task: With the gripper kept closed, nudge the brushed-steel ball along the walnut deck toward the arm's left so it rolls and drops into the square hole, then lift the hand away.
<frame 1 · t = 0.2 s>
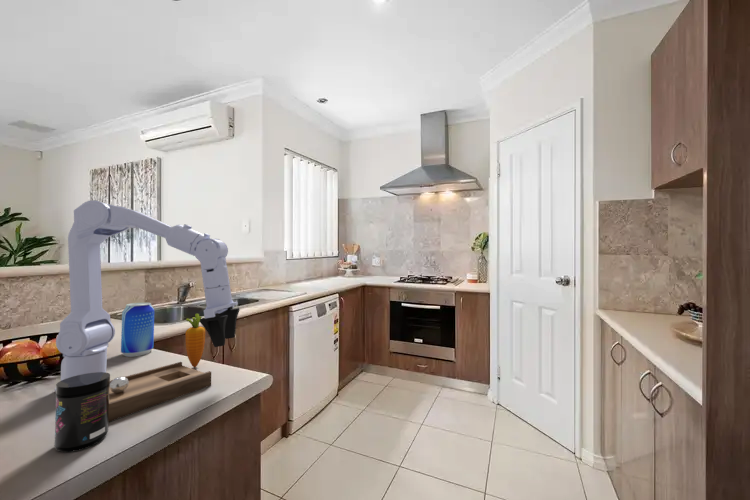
hand: (225, 341, 77), 11 cm above the counter, tool pointing down, fingers open, 7 cm apart
carrot: (194, 368, 89), on the counter
supplement container: (82, 442, 53), on the counter
ball: (119, 384, 66), point 4 cm above the counter, touching deck
beer can: (137, 354, 101), on the counter
deck: (148, 394, 71), on the counter
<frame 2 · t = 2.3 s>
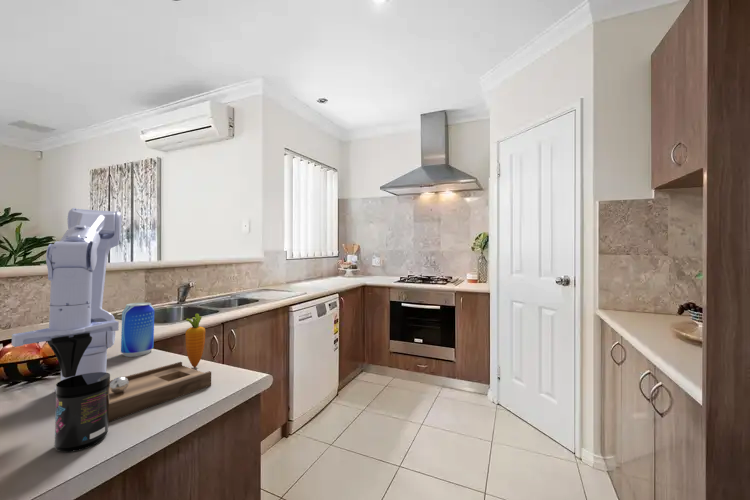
hand: (68, 375, 59), 9 cm above the counter, tool pointing down, fingers closed
nothing on the counter moved.
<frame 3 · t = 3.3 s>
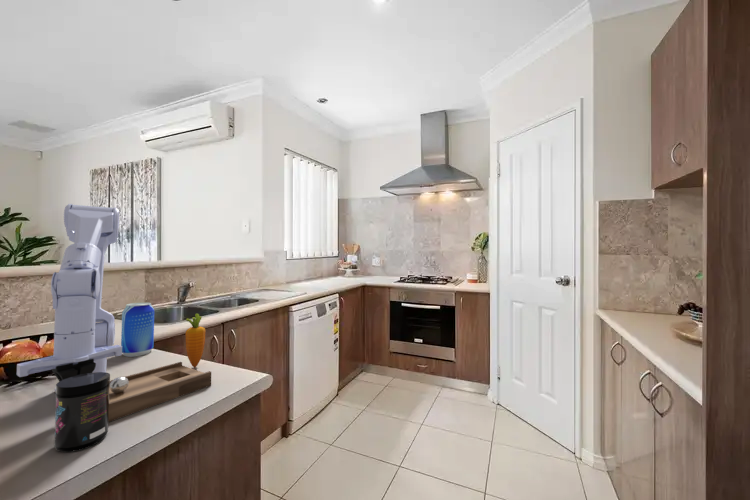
hand: (73, 402, 60), 3 cm above the counter, tool pointing down, fingers closed
nothing on the counter moved.
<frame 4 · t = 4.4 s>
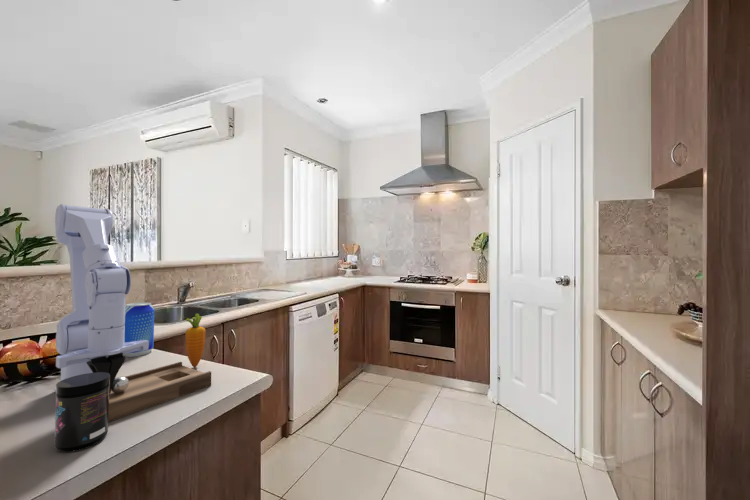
hand: (105, 393, 64), 3 cm above the counter, tool pointing down, fingers closed, pressing on ball
ball: (119, 384, 66), point 4 cm above the counter, touching deck, gripper
everything else where it was.
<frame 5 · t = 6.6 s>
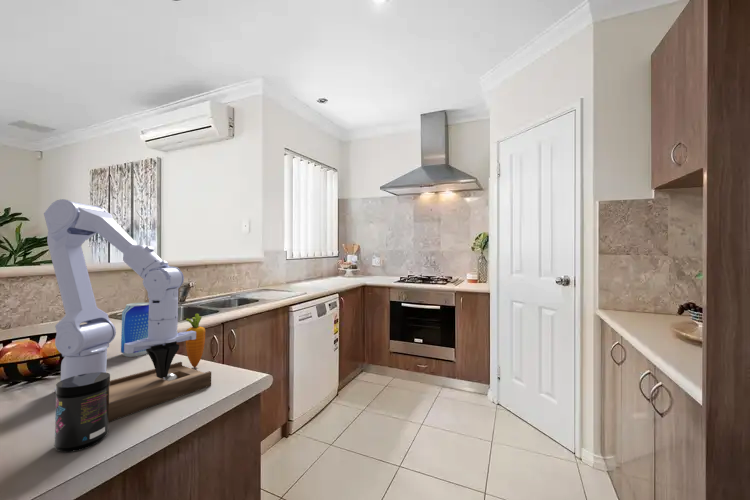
hand: (162, 376, 73), 3 cm above the counter, tool pointing down, fingers closed
ball: (169, 380, 75), point 2 cm above the counter, tilted 48°
everything else where it was.
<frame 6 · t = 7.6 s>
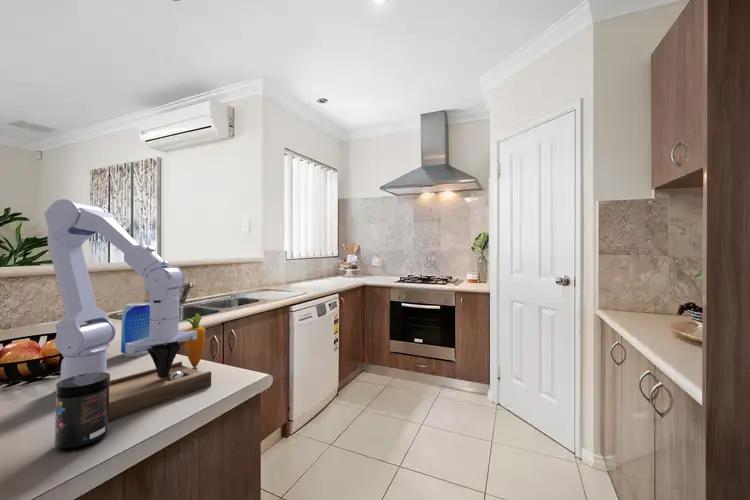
hand: (163, 376, 73), 3 cm above the counter, tool pointing down, fingers closed
ball: (176, 378, 77), point 2 cm above the counter, tilted 17°
everything else where it was.
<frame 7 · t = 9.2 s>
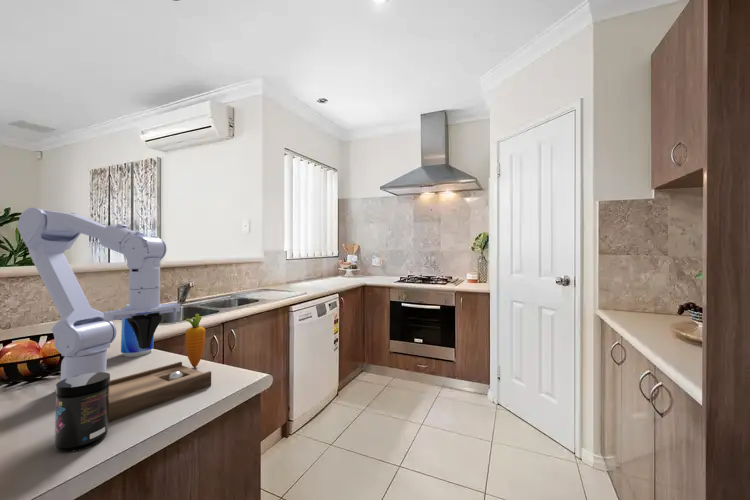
hand: (144, 347, 72), 10 cm above the counter, tool pointing down, fingers closed
nothing on the counter moved.
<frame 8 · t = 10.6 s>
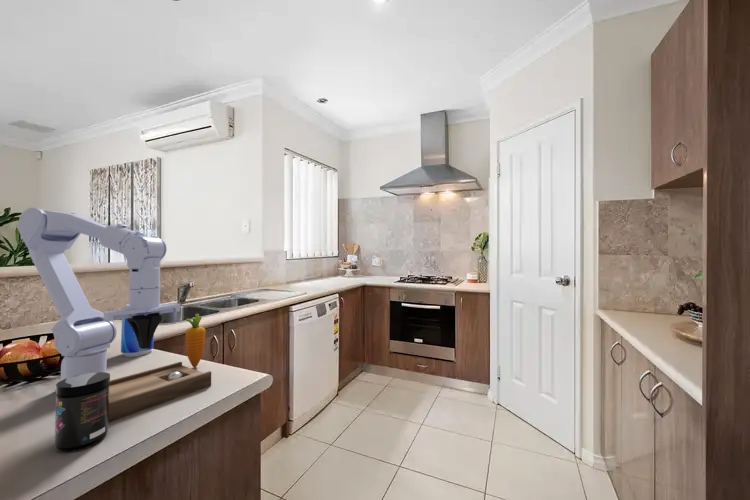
hand: (144, 347, 72), 10 cm above the counter, tool pointing down, fingers closed
nothing on the counter moved.
at the end: ball 0.8 cm from the target spot on the deck, point 1.6 cm above the deck's base; the gripper is holding nothing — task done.
